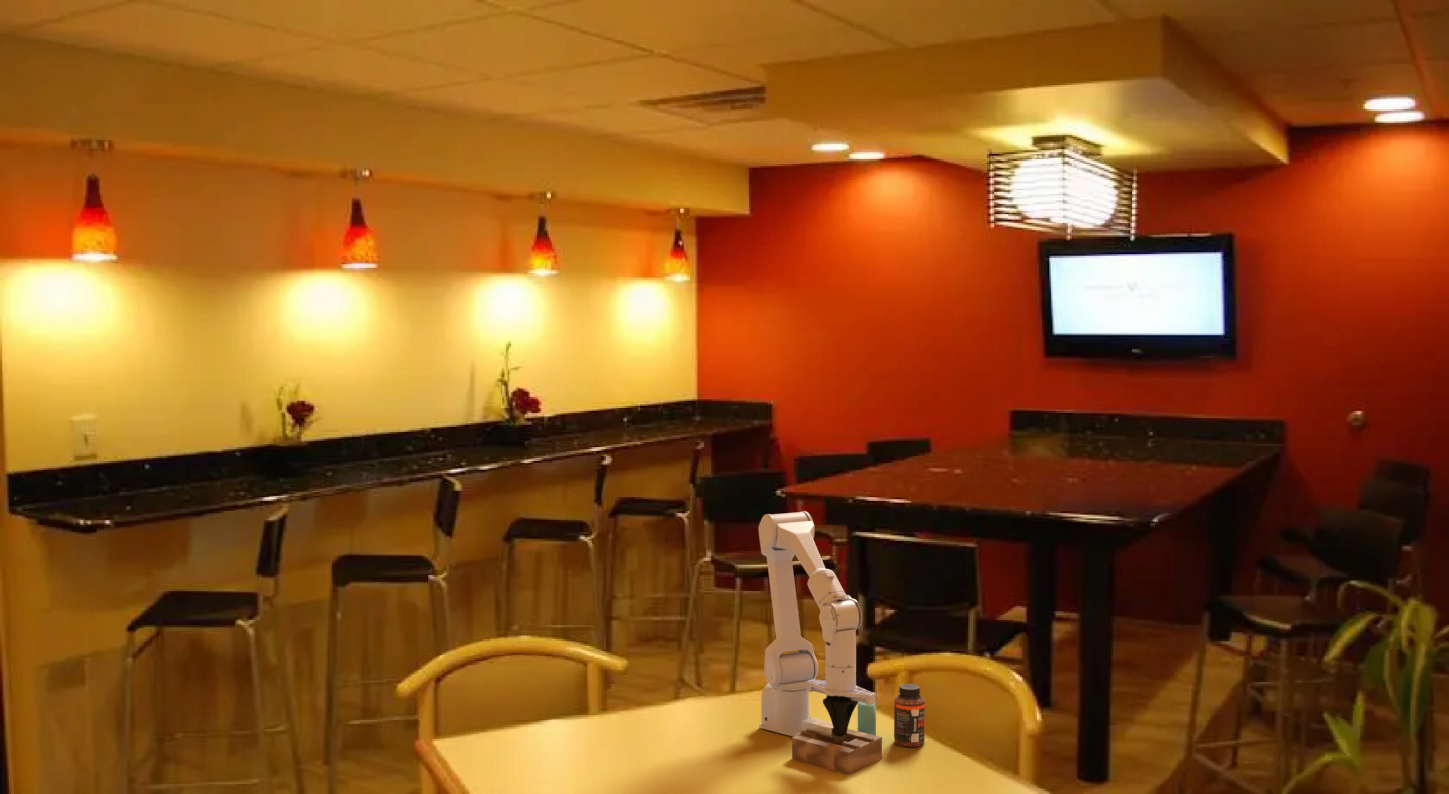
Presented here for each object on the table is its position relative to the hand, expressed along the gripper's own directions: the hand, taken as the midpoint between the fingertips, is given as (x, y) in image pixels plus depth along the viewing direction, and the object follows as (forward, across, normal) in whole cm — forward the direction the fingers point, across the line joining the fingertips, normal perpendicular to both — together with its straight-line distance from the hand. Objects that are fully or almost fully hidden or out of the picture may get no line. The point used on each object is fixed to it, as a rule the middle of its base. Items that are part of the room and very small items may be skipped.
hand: (840, 735), depth 236 cm
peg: (+5, -3, +13) cm, 14 cm away
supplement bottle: (+5, +5, +16) cm, 18 cm away
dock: (+5, -1, 0) cm, 5 cm away
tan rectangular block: (0, -5, 0) cm, 5 cm away
